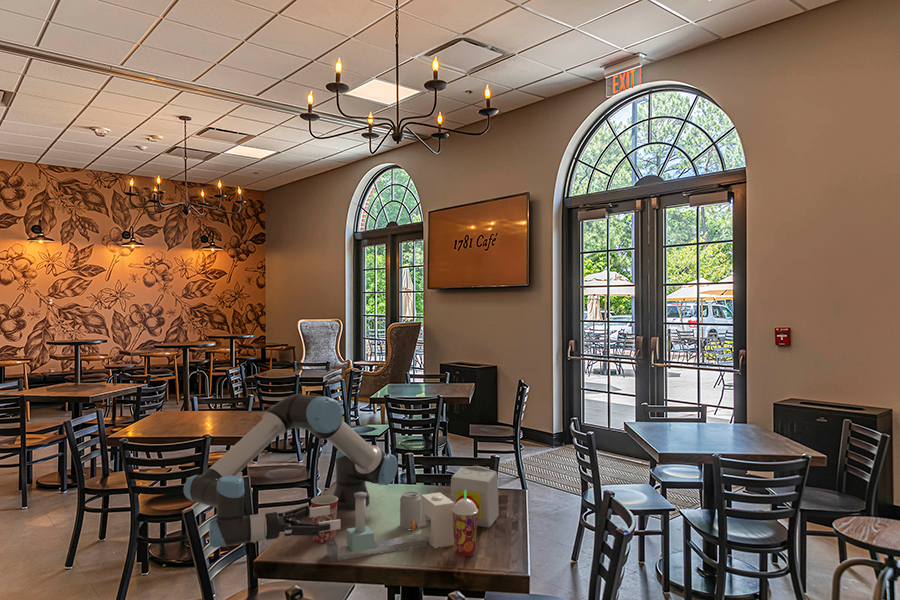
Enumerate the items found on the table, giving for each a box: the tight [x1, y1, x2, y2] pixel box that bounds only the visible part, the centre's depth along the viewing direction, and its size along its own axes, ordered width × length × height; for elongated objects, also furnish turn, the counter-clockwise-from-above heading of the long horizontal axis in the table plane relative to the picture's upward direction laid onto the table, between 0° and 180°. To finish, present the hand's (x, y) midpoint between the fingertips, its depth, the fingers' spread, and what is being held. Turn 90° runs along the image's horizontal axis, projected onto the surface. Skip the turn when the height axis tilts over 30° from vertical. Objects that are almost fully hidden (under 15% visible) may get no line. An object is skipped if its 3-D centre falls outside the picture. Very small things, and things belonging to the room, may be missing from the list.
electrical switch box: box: [450, 465, 500, 528], centre depth 217 cm, size 15×15×20 cm
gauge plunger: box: [410, 520, 431, 533], centre depth 200 cm, size 4×9×4 cm, turn 115°
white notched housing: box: [420, 491, 455, 549], centre depth 202 cm, size 12×7×15 cm, turn 25°
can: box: [399, 491, 421, 530], centre depth 214 cm, size 8×8×12 cm
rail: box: [326, 533, 428, 563], centre depth 193 cm, size 6×32×5 cm, turn 115°
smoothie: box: [452, 490, 478, 557], centre depth 192 cm, size 8×8×20 cm
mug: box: [310, 494, 338, 544], centre depth 204 cm, size 13×9×14 cm
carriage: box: [346, 492, 375, 552], centre depth 191 cm, size 7×7×17 cm
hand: (334, 516), depth 187 cm, fingers open, 13 cm apart
